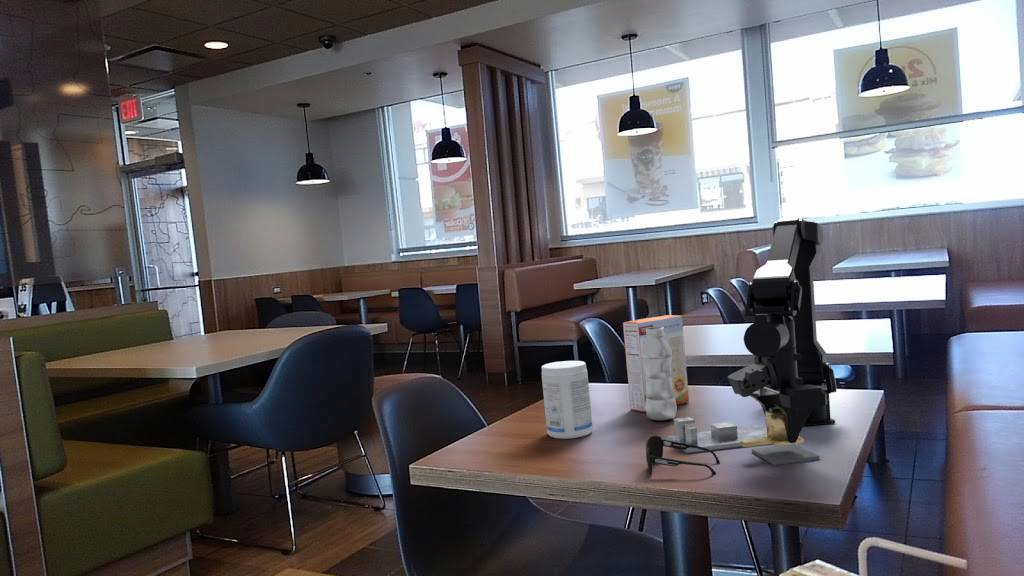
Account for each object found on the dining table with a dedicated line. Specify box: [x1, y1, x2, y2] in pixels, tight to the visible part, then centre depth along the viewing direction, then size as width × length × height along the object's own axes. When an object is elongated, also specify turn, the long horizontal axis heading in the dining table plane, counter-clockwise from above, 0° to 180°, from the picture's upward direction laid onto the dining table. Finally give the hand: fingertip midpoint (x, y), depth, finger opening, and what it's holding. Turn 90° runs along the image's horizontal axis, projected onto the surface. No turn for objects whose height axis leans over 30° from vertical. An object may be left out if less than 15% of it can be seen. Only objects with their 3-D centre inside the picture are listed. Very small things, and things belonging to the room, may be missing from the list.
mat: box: [751, 443, 821, 466], centre depth 121 cm, size 8×8×1 cm
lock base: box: [666, 416, 767, 454], centre depth 133 cm, size 19×10×5 cm, turn 97°
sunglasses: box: [645, 435, 721, 475], centre depth 119 cm, size 10×12×5 cm
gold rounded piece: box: [741, 407, 805, 448], centre depth 120 cm, size 10×5×6 cm, turn 100°
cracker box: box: [622, 314, 690, 413], centre depth 166 cm, size 14×6×21 cm, turn 122°
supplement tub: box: [541, 360, 593, 440], centre depth 148 cm, size 10×10×15 cm
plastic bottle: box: [641, 327, 678, 422], centre depth 153 cm, size 6×7×20 cm
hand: (783, 438), depth 121 cm, fingers closed on gold rounded piece, 5 cm apart
